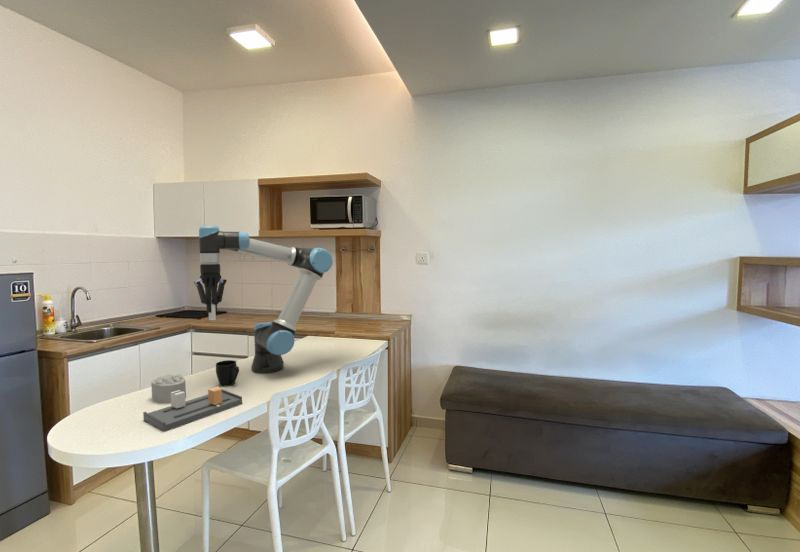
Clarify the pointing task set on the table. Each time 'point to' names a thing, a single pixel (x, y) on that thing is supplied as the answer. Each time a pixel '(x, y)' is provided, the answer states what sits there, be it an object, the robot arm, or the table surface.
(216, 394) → the fader
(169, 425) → the console
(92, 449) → the table surface
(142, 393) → the table surface
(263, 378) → the table surface
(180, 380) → the lumpy-topped squat cylinder
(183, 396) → the fader
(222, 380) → the mug
